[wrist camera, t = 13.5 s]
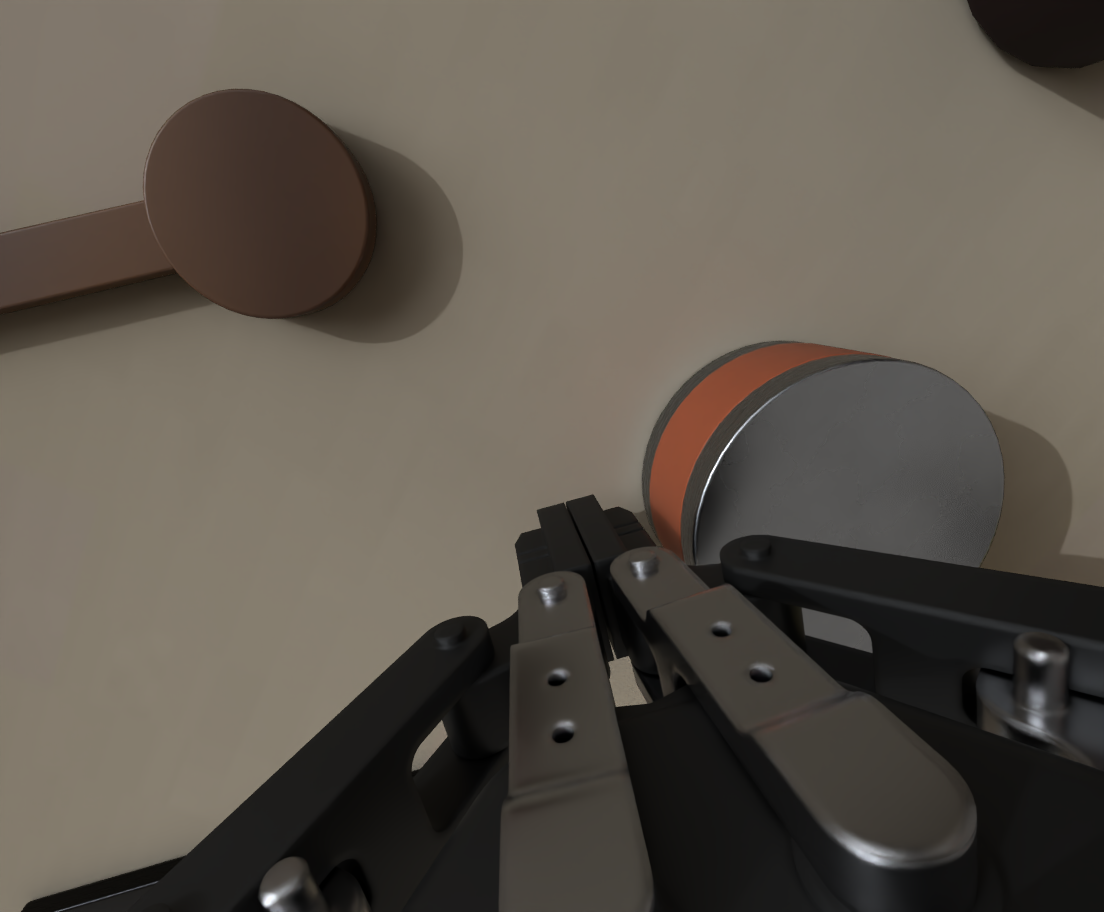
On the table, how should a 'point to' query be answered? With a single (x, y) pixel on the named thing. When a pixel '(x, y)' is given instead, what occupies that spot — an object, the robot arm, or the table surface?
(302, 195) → the spoon
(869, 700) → the robot arm
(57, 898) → the fork
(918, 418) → the tin can
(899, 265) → the table surface
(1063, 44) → the vinegar
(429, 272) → the table surface
